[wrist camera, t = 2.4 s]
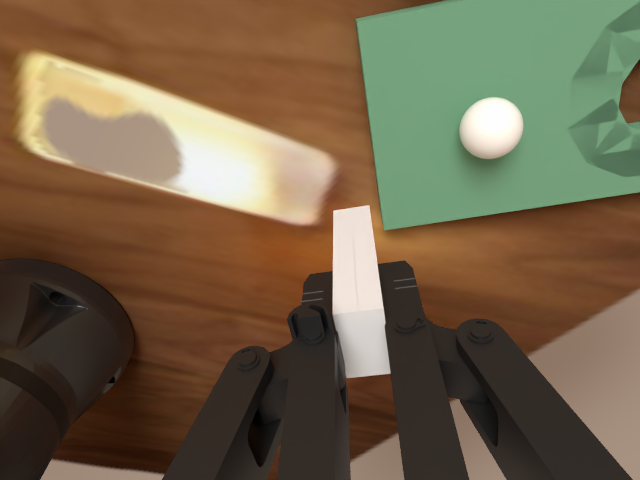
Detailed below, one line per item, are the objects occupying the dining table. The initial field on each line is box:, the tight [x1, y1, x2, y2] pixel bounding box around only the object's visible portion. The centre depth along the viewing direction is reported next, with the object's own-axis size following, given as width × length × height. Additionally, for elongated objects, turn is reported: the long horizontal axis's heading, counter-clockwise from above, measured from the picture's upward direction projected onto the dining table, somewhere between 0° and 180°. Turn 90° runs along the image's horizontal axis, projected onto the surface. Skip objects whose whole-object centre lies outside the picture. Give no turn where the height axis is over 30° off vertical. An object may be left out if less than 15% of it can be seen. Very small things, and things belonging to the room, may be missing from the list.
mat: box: [355, 0, 640, 230], centre depth 27 cm, size 25×14×4 cm, turn 101°
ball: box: [459, 97, 524, 159], centre depth 27 cm, size 4×4×4 cm
